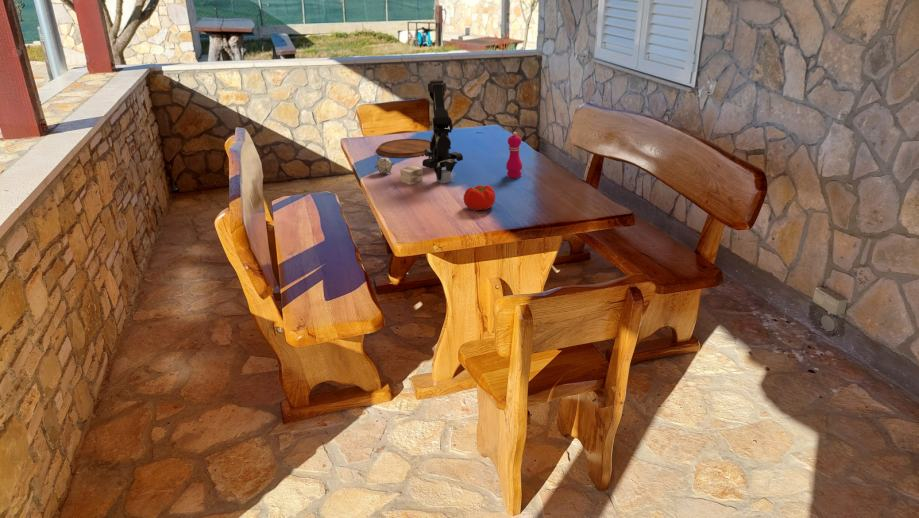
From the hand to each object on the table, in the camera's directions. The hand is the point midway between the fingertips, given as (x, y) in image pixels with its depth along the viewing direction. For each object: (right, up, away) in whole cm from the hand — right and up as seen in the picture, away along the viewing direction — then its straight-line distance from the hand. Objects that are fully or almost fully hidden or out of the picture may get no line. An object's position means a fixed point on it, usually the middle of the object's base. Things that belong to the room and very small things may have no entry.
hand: (443, 178), depth 279 cm
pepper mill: (+32, +2, +5) cm, 32 cm away
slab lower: (-14, -1, +2) cm, 14 cm away
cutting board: (-20, +21, +51) cm, 59 cm away
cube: (0, -1, 0) cm, 1 cm away
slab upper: (-14, +2, 0) cm, 14 cm away
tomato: (+15, -16, -32) cm, 39 cm away
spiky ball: (-27, +4, +13) cm, 30 cm away
